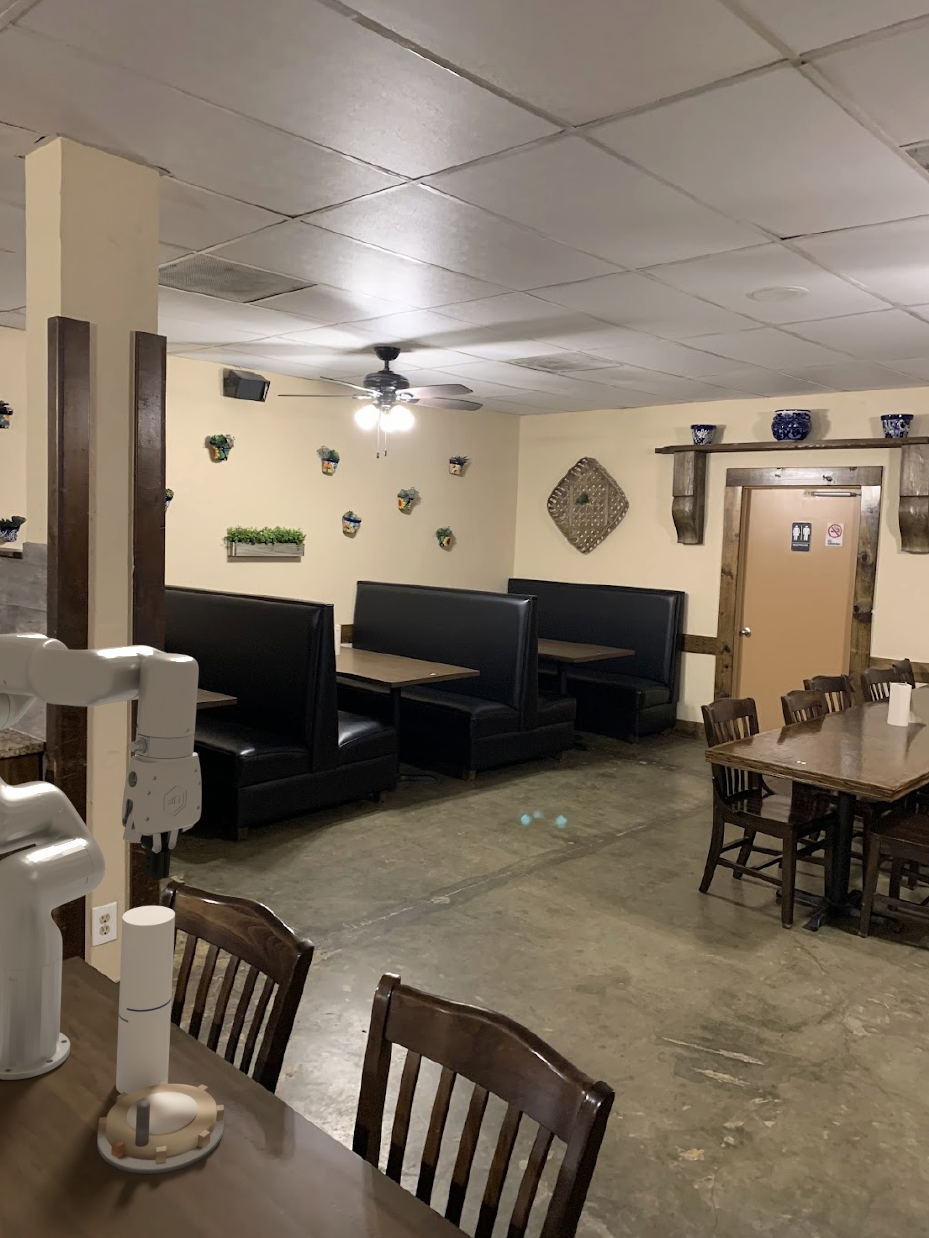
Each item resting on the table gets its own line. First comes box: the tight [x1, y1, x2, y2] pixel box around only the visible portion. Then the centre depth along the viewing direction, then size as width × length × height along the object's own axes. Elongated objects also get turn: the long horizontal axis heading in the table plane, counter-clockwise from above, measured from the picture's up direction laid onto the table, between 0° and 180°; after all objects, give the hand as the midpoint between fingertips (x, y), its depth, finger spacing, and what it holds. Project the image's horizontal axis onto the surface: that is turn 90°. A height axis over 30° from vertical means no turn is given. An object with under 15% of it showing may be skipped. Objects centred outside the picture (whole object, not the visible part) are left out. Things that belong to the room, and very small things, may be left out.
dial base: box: [96, 1118, 225, 1175], centre depth 126 cm, size 16×16×1 cm
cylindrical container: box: [115, 905, 176, 1094], centre depth 136 cm, size 7×7×25 cm
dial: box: [97, 1079, 225, 1163], centre depth 125 cm, size 15×15×6 cm
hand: (156, 876), depth 129 cm, fingers closed
